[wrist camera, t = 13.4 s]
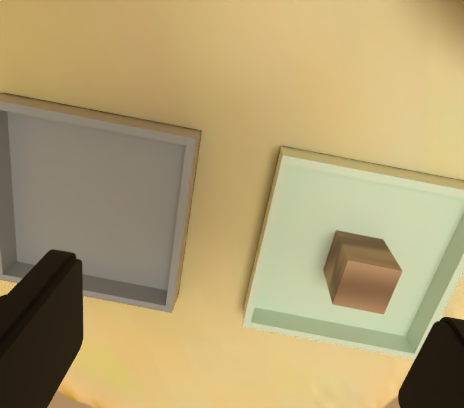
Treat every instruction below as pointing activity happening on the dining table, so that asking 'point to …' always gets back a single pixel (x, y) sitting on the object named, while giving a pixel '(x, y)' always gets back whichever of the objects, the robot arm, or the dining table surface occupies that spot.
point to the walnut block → (361, 272)
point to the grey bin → (96, 197)
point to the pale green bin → (362, 223)
